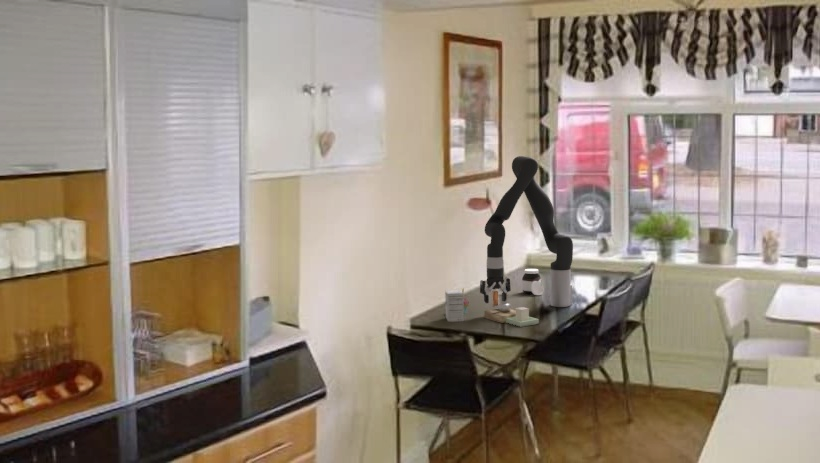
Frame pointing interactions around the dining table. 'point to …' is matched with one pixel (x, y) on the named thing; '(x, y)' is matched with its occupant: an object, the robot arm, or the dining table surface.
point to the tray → (524, 323)
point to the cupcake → (465, 303)
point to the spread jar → (532, 282)
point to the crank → (502, 306)
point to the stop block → (522, 314)
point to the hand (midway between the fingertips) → (495, 302)
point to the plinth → (499, 315)
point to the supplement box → (454, 305)
